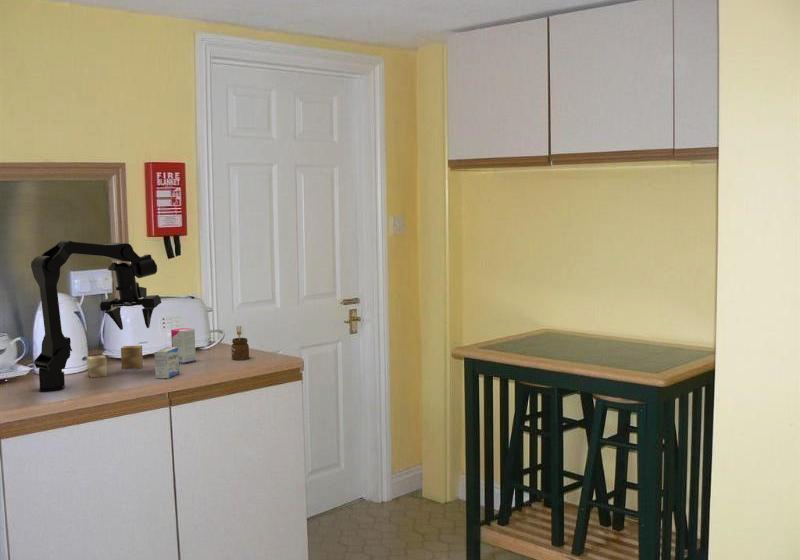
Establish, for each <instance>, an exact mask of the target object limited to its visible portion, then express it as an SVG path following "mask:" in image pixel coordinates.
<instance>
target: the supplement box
mask: <svg viewBox="0 0 800 560" xmlns="http://www.w3.org/2000/svg"><path fill="white" fill-rule="evenodd" d="M195 331H196V330H195V328H187V327H186V328H185V327H182V328H176V329H175V328H174V329H171V331H170V332H171V333H170V334H171V347H178V353H179V363H181V364H180V365H186V364H185V363H187V364H190V362H191V363H195V362H197V361H196V359H197V358H196V357H197V356H196V335H195V334H196V332H195Z"/></svg>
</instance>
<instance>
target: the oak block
mask: <svg viewBox="0 0 800 560" xmlns="http://www.w3.org/2000/svg"><path fill="white" fill-rule="evenodd" d="M143 358H144V357H143V345H123V346H122V347H120V359H121V369H122V370H125V369H126V370H127V369H128V370H130V369H133V370H134V368H136V369H142V368H143V367H144V364H143V363H144V359H143Z"/></svg>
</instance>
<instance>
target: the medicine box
mask: <svg viewBox="0 0 800 560" xmlns="http://www.w3.org/2000/svg"><path fill="white" fill-rule="evenodd" d="M154 369H155V379H164V378H169V379H171V378H173V377H175V376H177V375H179V374H180V364H179V353H178V347H172V346H166V347H164V348H162V349H159V350H156V351H154ZM172 376H173V377H172ZM170 377H171V378H170Z"/></svg>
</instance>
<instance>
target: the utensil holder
mask: <svg viewBox="0 0 800 560" xmlns="http://www.w3.org/2000/svg"><path fill="white" fill-rule="evenodd" d="M244 332H245V330H244V328H243V326H241V325H240V326H236V335H237V336H238V337H236V338H232V340H231V342H232V345H231V358H232V360H234V361H245V360H248V359H249V358H250V349H249V348H250V347H249V343H248V341H249V340H248V338H247V337H242V336H245V335H244Z"/></svg>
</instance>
